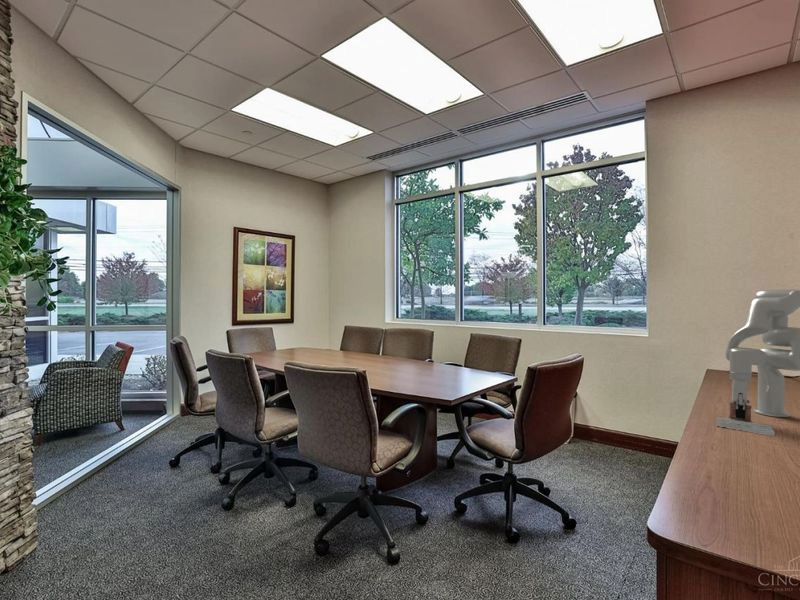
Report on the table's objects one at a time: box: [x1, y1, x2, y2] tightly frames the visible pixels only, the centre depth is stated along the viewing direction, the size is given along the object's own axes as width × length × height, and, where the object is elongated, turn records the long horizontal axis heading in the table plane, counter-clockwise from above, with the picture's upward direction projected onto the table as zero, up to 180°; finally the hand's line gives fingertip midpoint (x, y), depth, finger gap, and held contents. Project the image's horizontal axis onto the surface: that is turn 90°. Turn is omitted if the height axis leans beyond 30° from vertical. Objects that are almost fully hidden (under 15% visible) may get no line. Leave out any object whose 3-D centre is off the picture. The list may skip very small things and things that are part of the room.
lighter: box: [728, 399, 752, 422], centre depth 178 cm, size 8×3×10 cm, turn 25°
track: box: [716, 416, 776, 437], centre depth 168 cm, size 12×18×2 cm, turn 51°
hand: (740, 416), depth 178 cm, fingers closed on lighter, 4 cm apart
